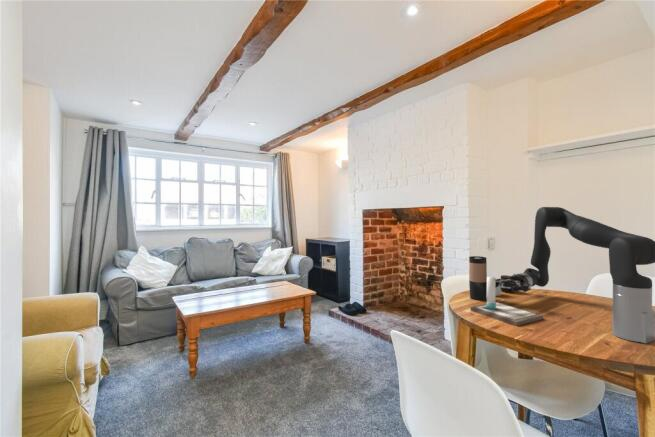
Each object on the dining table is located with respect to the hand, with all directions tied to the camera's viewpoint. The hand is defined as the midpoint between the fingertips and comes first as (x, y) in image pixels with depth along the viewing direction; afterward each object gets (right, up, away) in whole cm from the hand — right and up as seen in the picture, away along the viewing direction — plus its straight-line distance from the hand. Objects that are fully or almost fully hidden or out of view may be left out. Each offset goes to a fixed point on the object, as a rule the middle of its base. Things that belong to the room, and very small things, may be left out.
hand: (502, 287), depth 132 cm
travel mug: (-3, -9, +15) cm, 18 cm away
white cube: (+7, -9, +22) cm, 25 cm away
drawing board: (-4, -9, -8) cm, 13 cm away
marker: (-8, -8, -5) cm, 12 cm away
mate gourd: (+18, -9, +27) cm, 34 cm away
